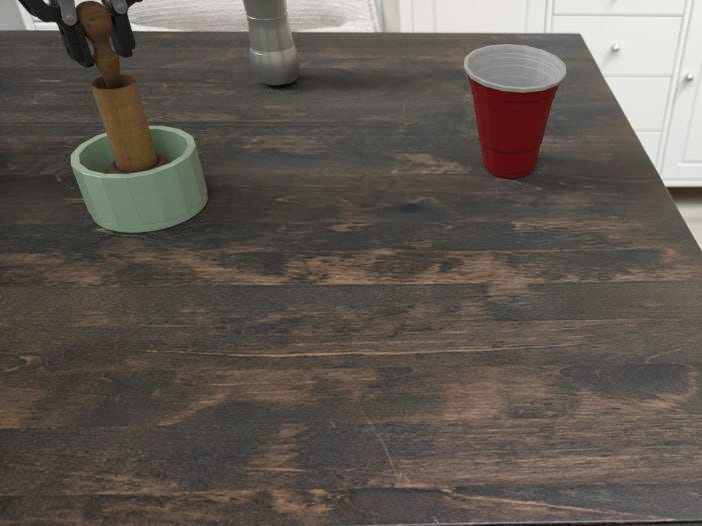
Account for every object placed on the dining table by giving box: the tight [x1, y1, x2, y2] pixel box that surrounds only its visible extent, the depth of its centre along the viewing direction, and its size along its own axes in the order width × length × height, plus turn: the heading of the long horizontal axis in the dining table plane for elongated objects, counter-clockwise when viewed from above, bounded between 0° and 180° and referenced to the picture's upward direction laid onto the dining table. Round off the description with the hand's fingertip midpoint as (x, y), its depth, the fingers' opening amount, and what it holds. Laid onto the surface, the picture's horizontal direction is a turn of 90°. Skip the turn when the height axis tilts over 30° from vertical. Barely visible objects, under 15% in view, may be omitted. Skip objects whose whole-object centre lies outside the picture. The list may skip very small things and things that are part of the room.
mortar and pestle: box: [75, 0, 171, 174], centre depth 71 cm, size 7×6×18 cm
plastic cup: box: [463, 43, 567, 179], centre depth 81 cm, size 11×11×12 cm
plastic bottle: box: [242, 0, 301, 86], centre depth 97 cm, size 6×7×20 cm
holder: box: [70, 125, 209, 234], centre depth 76 cm, size 12×12×6 cm
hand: (105, 59), depth 68 cm, fingers closed on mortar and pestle, 3 cm apart
